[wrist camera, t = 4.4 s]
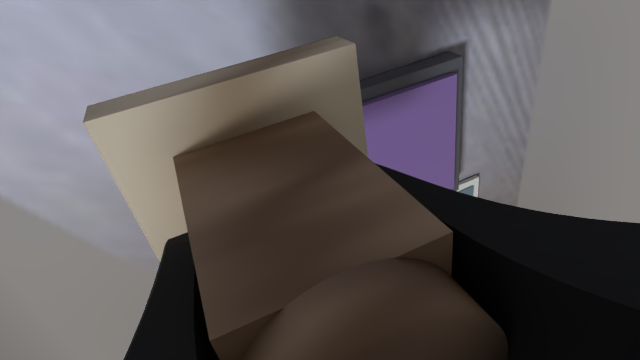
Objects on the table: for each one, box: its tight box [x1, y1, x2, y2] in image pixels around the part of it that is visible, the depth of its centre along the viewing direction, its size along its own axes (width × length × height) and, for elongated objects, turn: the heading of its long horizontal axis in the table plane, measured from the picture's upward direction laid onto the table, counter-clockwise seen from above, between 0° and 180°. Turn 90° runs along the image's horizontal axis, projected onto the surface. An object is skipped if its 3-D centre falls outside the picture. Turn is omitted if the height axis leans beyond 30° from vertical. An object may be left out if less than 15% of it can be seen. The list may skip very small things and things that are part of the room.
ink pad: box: [360, 52, 463, 191], centre depth 23 cm, size 9×9×2 cm
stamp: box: [83, 36, 508, 360], centre depth 9 cm, size 7×7×9 cm
